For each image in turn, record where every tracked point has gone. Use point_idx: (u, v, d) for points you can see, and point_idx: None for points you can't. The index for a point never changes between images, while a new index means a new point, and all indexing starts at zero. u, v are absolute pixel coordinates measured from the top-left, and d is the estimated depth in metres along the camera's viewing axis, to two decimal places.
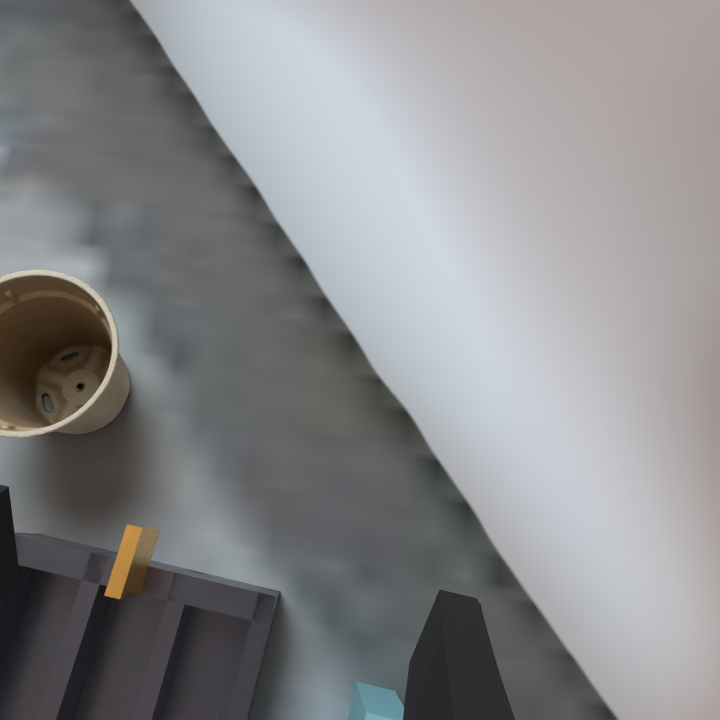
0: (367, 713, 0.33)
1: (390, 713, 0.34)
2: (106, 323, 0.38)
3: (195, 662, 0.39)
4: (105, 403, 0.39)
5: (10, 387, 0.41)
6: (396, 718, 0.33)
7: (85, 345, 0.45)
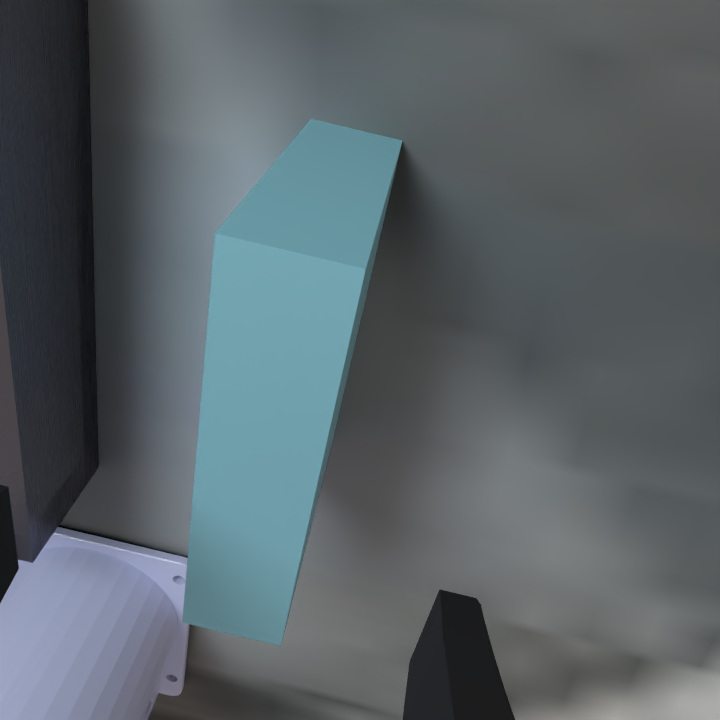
0: (219, 235, 0.10)
1: (314, 226, 0.11)
2: None
3: None
4: None
5: None
6: (316, 249, 0.11)
7: None
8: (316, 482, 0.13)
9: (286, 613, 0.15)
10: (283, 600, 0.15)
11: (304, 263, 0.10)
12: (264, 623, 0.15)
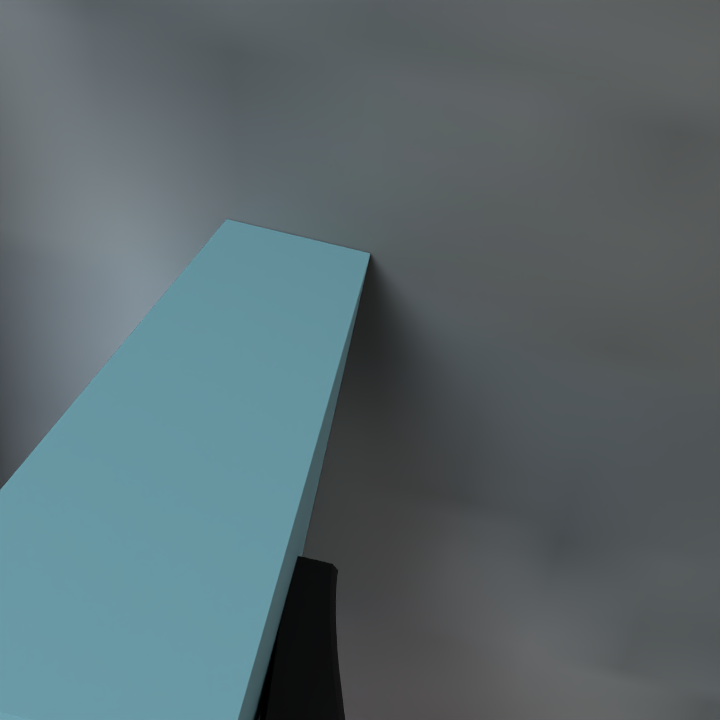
0: None
1: (139, 572, 0.05)
2: None
3: None
4: None
5: None
6: (109, 693, 0.04)
7: None
8: None
9: None
10: None
11: None
12: None
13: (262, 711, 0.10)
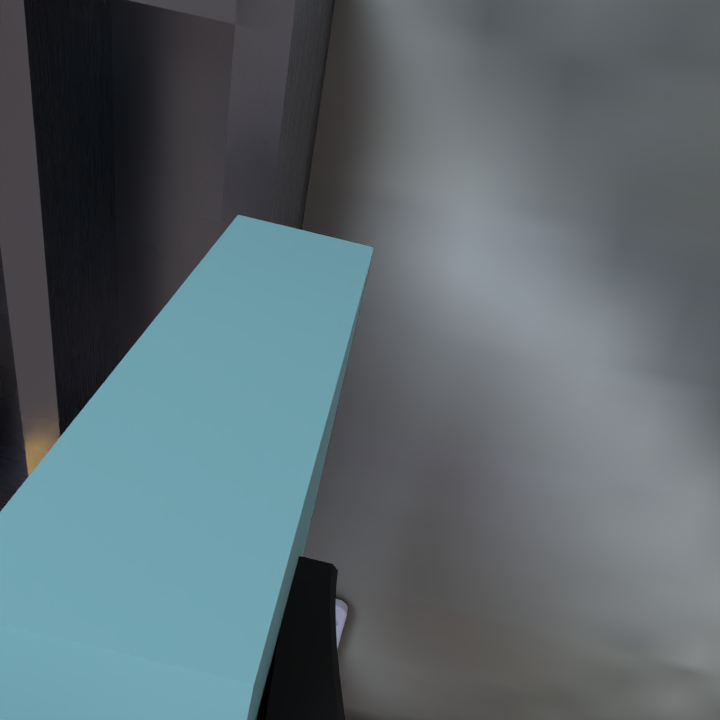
0: None
1: (172, 526, 0.06)
2: None
3: (153, 133, 0.16)
4: None
5: None
6: (152, 624, 0.05)
7: None
8: None
9: None
10: None
11: (124, 665, 0.05)
12: None
13: (262, 711, 0.10)
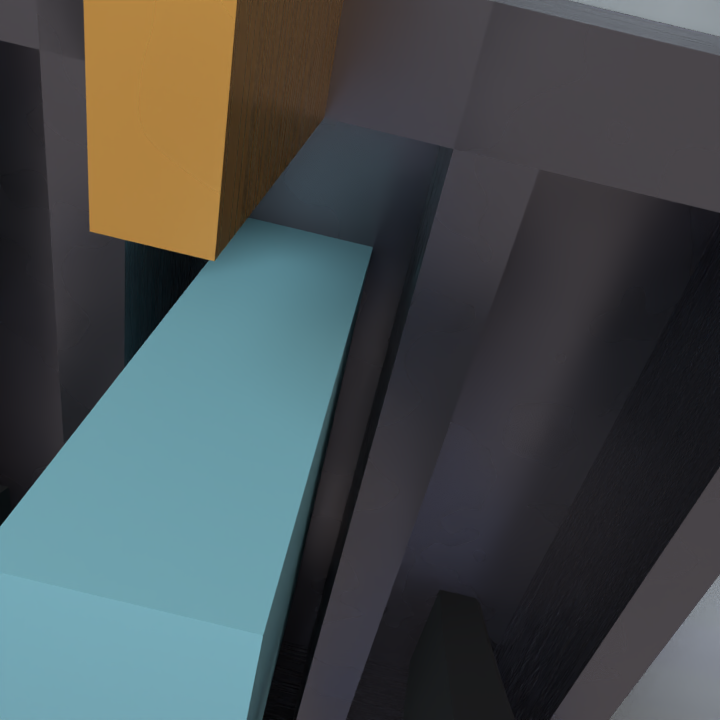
0: None
1: (187, 499, 0.06)
2: None
3: (511, 303, 0.12)
4: None
5: None
6: (171, 583, 0.06)
7: None
8: None
9: None
10: None
11: (147, 618, 0.05)
12: None
13: None
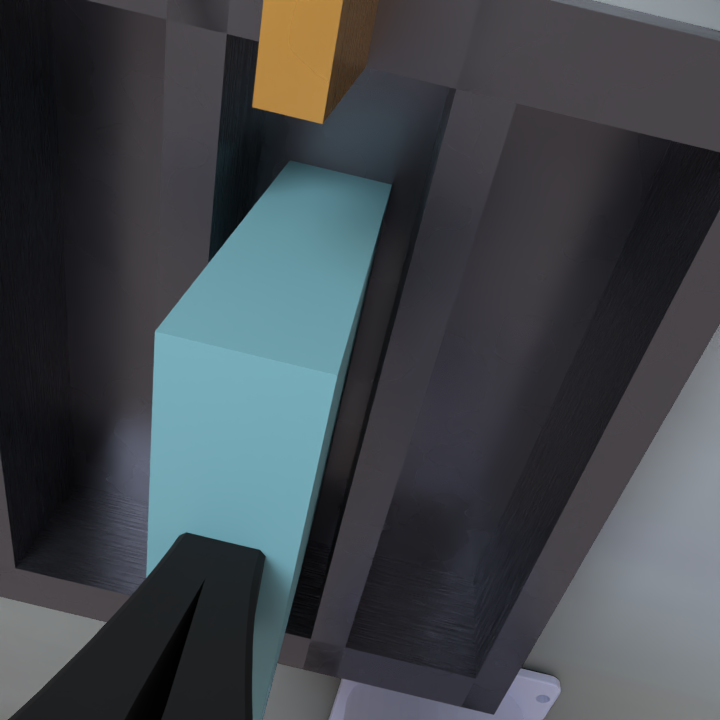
0: (159, 333, 0.09)
1: (279, 313, 0.10)
2: None
3: (501, 230, 0.15)
4: None
5: None
6: (278, 348, 0.09)
7: None
8: (286, 600, 0.11)
9: None
10: (254, 716, 0.13)
11: (264, 367, 0.09)
12: None
13: None
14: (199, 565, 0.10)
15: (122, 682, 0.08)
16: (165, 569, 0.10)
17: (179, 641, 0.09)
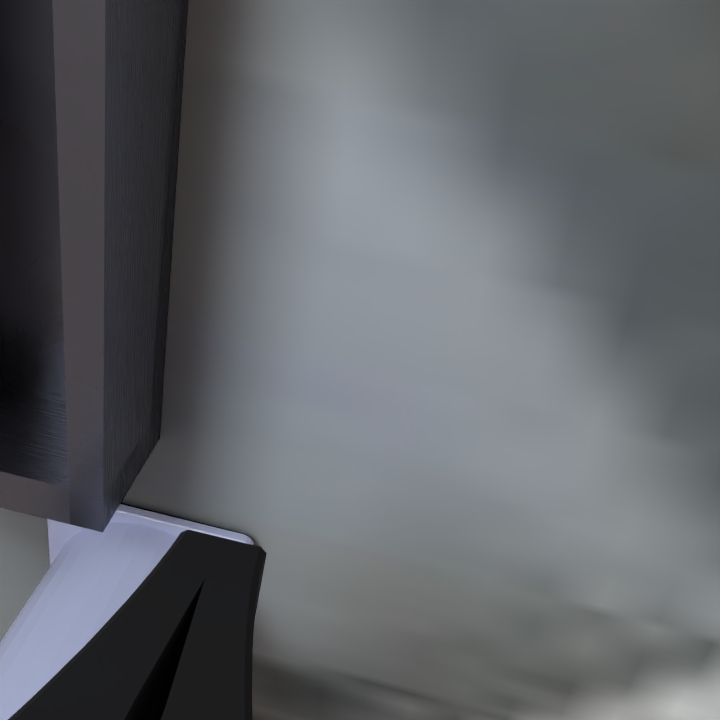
0: None
1: None
2: None
3: (14, 2, 0.16)
4: None
5: None
6: None
7: None
8: None
9: None
10: None
11: None
12: None
13: None
14: (199, 565, 0.10)
15: (121, 682, 0.08)
16: (165, 569, 0.10)
17: (179, 641, 0.09)
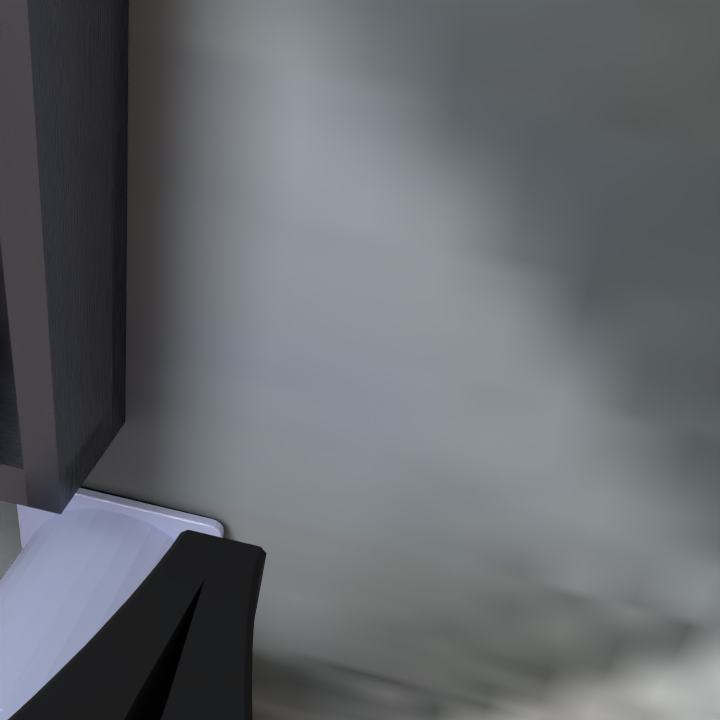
0: None
1: None
2: None
3: None
4: None
5: None
6: None
7: None
8: None
9: None
10: None
11: None
12: None
13: None
14: (199, 565, 0.10)
15: (122, 682, 0.08)
16: (165, 569, 0.10)
17: (179, 641, 0.09)
